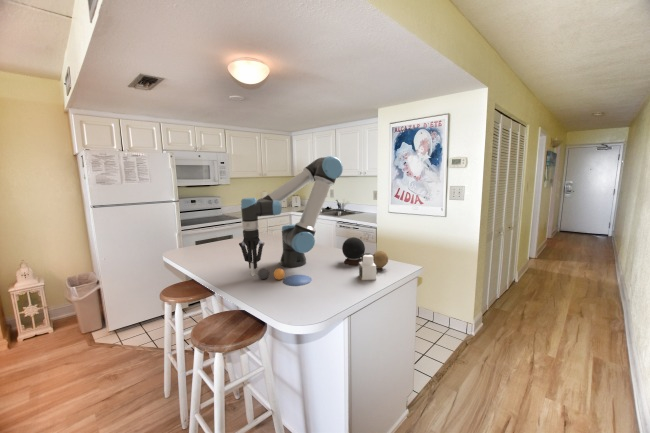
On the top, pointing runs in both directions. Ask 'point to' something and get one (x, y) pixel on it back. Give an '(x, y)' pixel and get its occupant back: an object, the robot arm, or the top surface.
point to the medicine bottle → (367, 267)
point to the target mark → (297, 280)
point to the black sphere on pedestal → (353, 251)
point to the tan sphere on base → (380, 259)
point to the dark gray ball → (263, 273)
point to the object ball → (279, 274)
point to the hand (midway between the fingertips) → (253, 274)
